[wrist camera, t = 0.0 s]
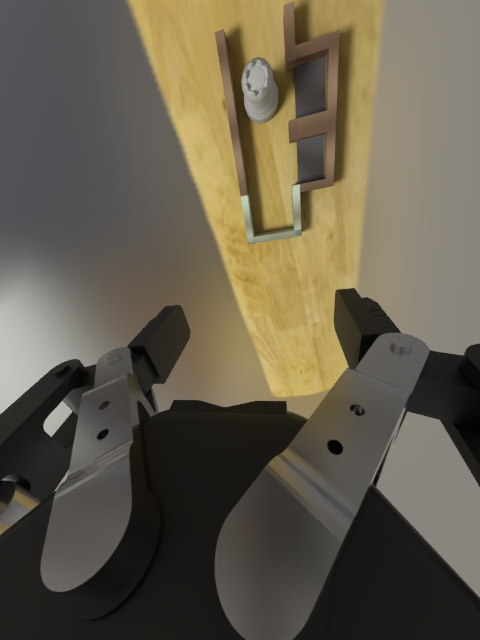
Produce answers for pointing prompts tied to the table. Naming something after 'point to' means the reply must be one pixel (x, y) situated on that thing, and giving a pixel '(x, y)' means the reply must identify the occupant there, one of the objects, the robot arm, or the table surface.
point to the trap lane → (307, 129)
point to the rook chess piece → (259, 90)
